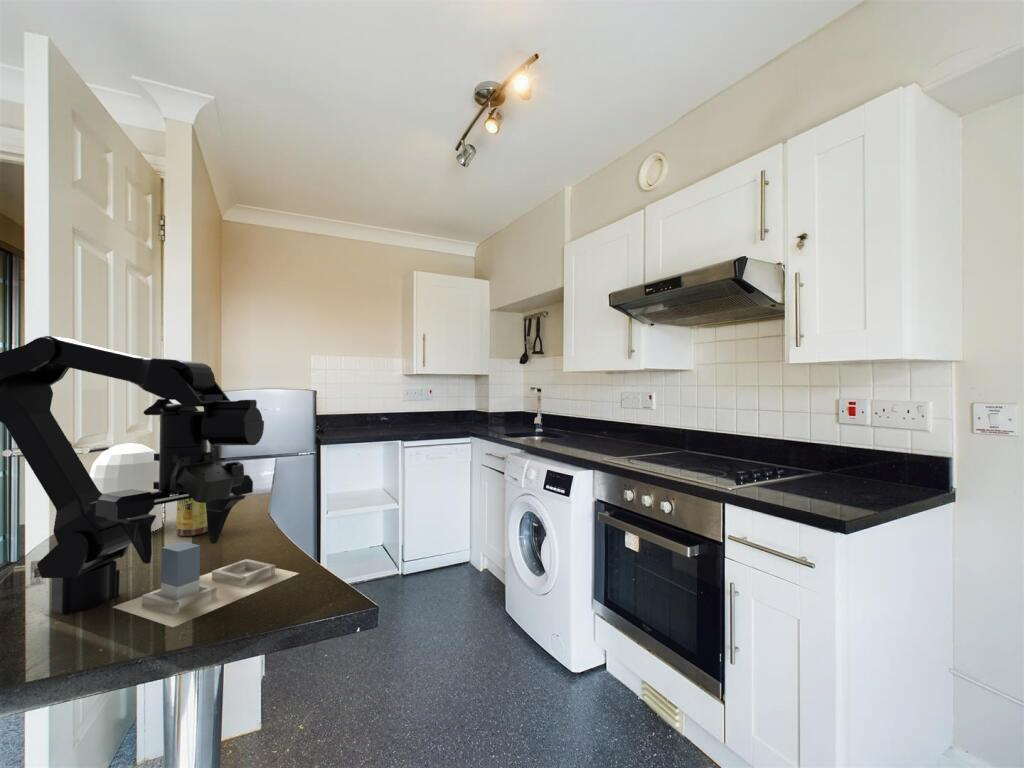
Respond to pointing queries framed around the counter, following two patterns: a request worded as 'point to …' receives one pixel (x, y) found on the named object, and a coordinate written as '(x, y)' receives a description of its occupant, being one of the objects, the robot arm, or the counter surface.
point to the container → (128, 473)
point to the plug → (180, 570)
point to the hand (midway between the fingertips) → (182, 552)
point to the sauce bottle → (191, 518)
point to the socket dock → (208, 593)
